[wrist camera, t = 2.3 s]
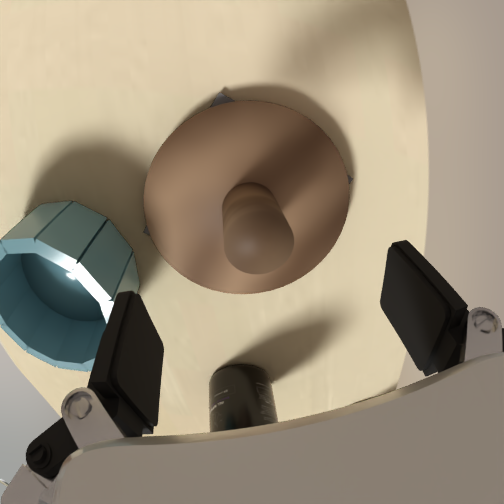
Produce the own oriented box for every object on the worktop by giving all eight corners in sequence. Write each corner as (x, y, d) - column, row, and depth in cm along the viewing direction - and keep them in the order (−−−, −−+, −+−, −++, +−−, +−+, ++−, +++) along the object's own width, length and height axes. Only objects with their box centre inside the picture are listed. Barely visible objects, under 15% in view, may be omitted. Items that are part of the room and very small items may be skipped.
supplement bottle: (204, 364, 29) (206, 472, 19) (270, 358, 30) (291, 464, 19) (212, 398, 32) (217, 489, 22) (269, 393, 33) (286, 483, 23)
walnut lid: (378, 173, 20) (424, 203, 15) (274, 309, 25) (288, 362, 20) (211, 61, 15) (208, 46, 10) (118, 239, 21) (92, 288, 15)
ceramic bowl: (159, 243, 22) (144, 292, 17) (116, 339, 26) (103, 387, 21) (30, 178, 18) (-15, 208, 12) (14, 287, 22) (-14, 328, 17)
